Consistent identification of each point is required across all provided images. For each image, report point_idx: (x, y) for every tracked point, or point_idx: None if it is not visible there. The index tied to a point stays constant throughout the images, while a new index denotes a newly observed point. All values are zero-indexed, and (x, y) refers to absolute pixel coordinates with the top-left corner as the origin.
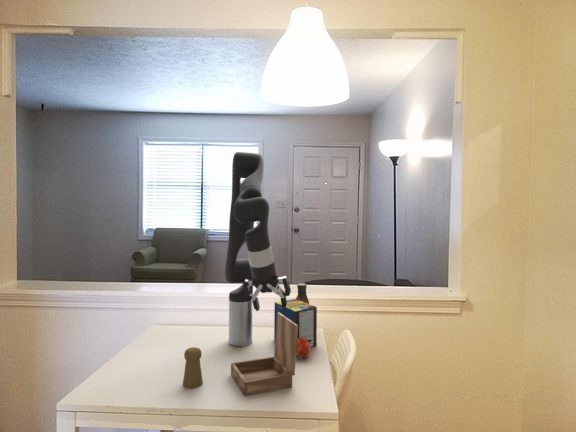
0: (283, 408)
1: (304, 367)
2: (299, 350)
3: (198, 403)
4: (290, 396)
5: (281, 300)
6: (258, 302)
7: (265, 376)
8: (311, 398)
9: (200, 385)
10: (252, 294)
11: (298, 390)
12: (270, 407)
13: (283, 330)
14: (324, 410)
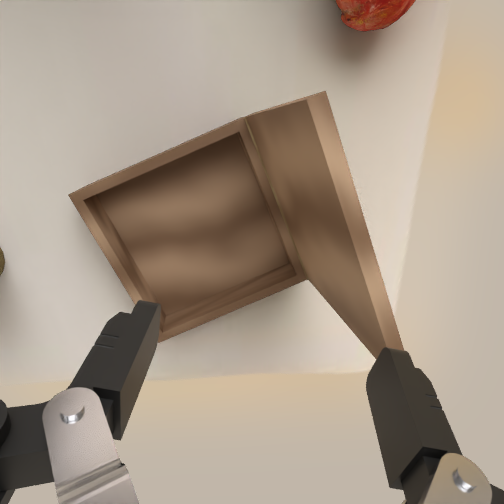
0: (269, 368)
1: (354, 110)
2: (361, 28)
3: (42, 364)
4: (289, 313)
5: (390, 467)
6: (141, 350)
7: (213, 214)
8: None
9: (2, 271)
10: (35, 457)
11: None
12: (237, 366)
13: (319, 220)
14: (363, 368)
